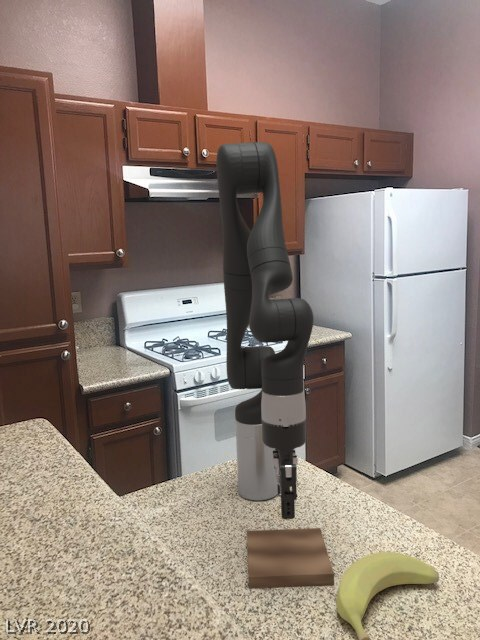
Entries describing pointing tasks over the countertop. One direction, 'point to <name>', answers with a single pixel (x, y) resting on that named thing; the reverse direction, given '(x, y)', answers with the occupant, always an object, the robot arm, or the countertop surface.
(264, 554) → the walnut board
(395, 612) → the countertop surface
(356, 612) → the banana
